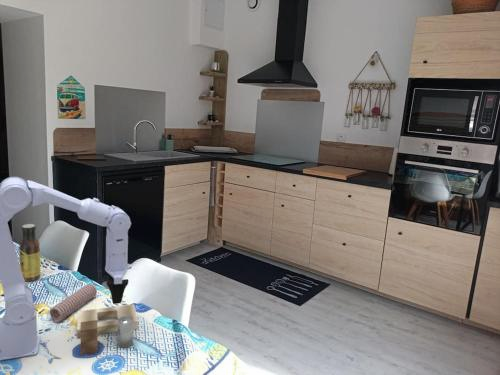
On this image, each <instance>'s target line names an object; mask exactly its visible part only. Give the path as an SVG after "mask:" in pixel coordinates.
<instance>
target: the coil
mask: <svg viewBox="0 0 500 375" xmlns="http://www.w3.org/2000/svg"><path fill="white" fill-rule="evenodd" d="M97 290H98V289H97V287H96V285H95V284H93V283H87V284H86V285H84V286H83V287H81V288H80V289H78V290H76V291H75V292H74V293H72V294H70V295H69V296H67V297H65V299H63V300H62V301H60V302H58V303H57V304H55V305H53V307H51V308H50V309H49V312H48V314H49V316H50V318H51V319H52V320H53V323H54V324H55V323H56V324H57V323H60V322H61V321H63V320H64V319H66V317H68V316H70V315H71V314H72V313H74V312H75V311H76V310H78V309H80V307H82V306H83V305H85V304H86V303H88V302H89V301H90V300H91V299H93V298H94V297H95V296H96V295H97Z"/></svg>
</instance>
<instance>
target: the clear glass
mask: <svg viewBox="0 0 500 375" xmlns="http://www.w3.org/2000/svg"><path fill="white" fill-rule="evenodd" d="M116 337H117V340H116V342H117V347H119V348H121V349H126V348H130V347H131V346H133V344H134V330H133V318H132V317H130V316H123V317H120V318H119V319H118V332H117V336H116Z"/></svg>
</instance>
